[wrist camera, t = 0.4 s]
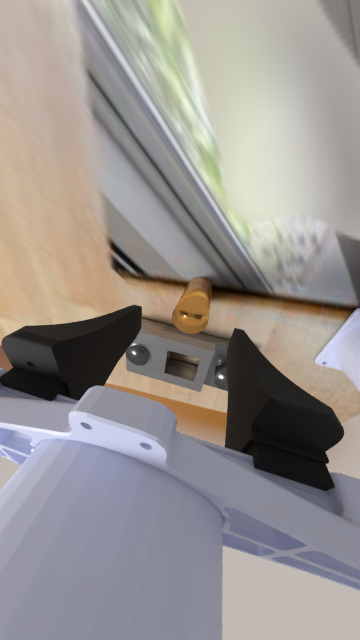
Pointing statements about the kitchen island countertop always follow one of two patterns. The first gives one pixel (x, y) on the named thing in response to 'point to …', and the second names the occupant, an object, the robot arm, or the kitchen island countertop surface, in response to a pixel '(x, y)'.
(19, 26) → the kitchen island countertop surface
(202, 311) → the pin
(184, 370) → the gray slab
